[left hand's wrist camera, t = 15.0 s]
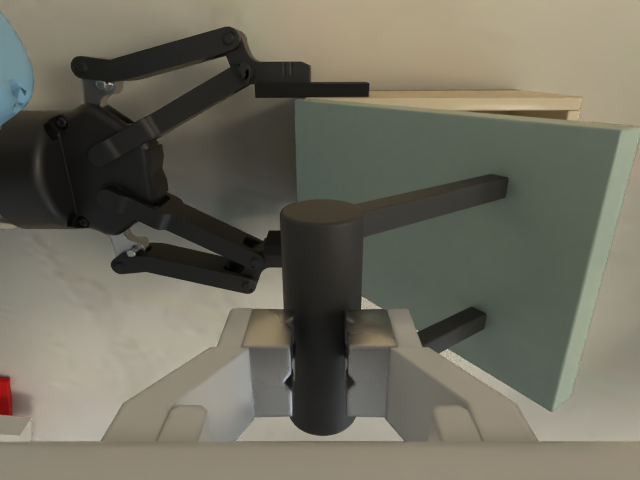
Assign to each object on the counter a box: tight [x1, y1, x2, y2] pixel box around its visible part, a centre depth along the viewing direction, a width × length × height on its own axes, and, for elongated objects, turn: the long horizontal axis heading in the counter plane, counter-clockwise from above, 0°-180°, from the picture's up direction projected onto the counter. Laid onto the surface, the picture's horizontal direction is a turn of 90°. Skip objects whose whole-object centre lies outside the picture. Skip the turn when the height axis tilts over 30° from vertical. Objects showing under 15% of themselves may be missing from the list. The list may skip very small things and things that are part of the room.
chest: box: [305, 90, 583, 121], centre depth 30 cm, size 15×9×9 cm, turn 90°
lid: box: [280, 99, 640, 436], centre depth 17 cm, size 16×9×9 cm
